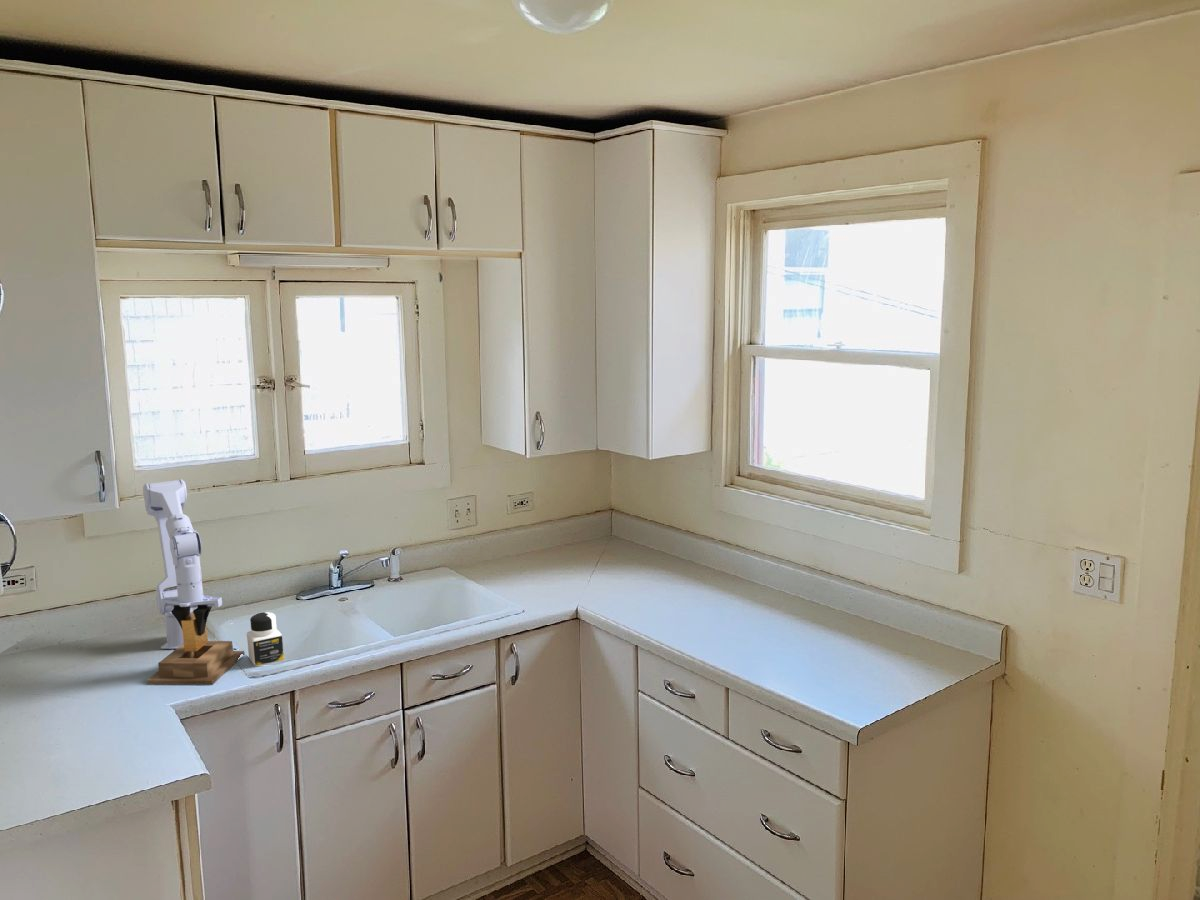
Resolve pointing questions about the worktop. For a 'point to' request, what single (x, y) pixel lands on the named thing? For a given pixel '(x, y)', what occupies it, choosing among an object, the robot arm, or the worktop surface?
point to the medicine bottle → (264, 640)
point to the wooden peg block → (192, 634)
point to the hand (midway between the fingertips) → (194, 634)
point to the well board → (196, 664)
